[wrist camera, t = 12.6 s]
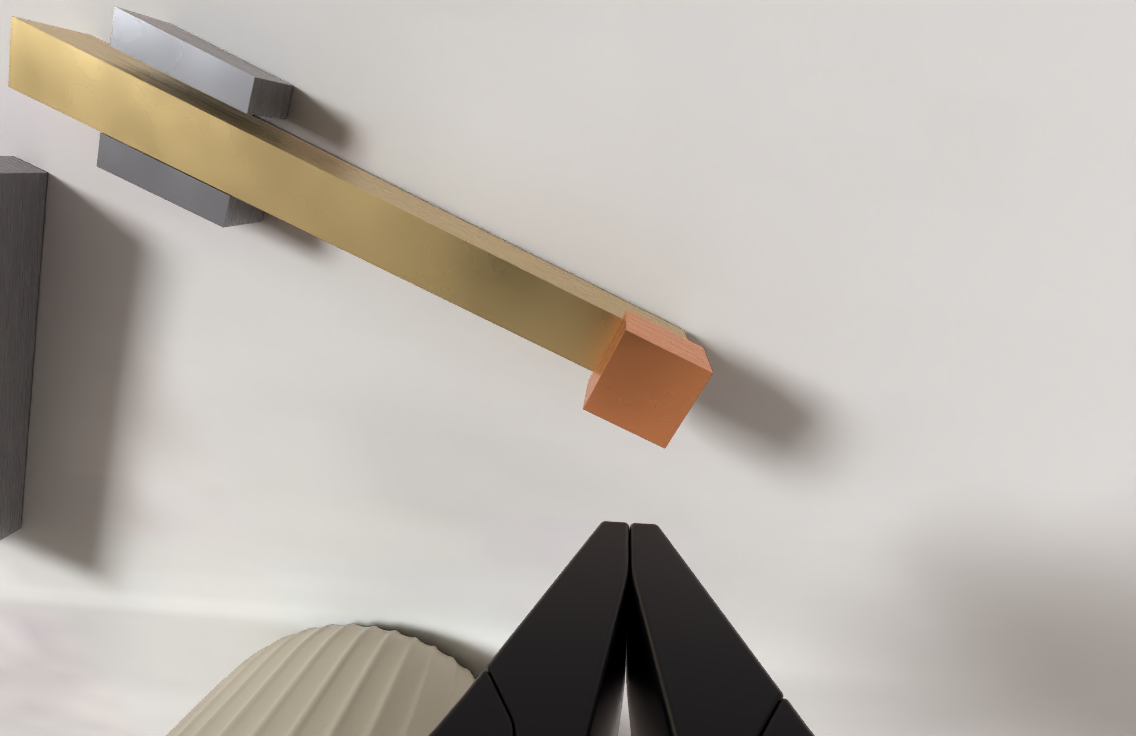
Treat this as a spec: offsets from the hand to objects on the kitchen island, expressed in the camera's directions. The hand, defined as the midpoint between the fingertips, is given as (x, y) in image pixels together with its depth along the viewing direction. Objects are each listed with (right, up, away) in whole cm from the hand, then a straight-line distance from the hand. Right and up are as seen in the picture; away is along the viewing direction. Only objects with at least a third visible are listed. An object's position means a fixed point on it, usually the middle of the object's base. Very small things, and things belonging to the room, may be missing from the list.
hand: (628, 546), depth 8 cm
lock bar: (-7, +8, +9) cm, 13 cm away
